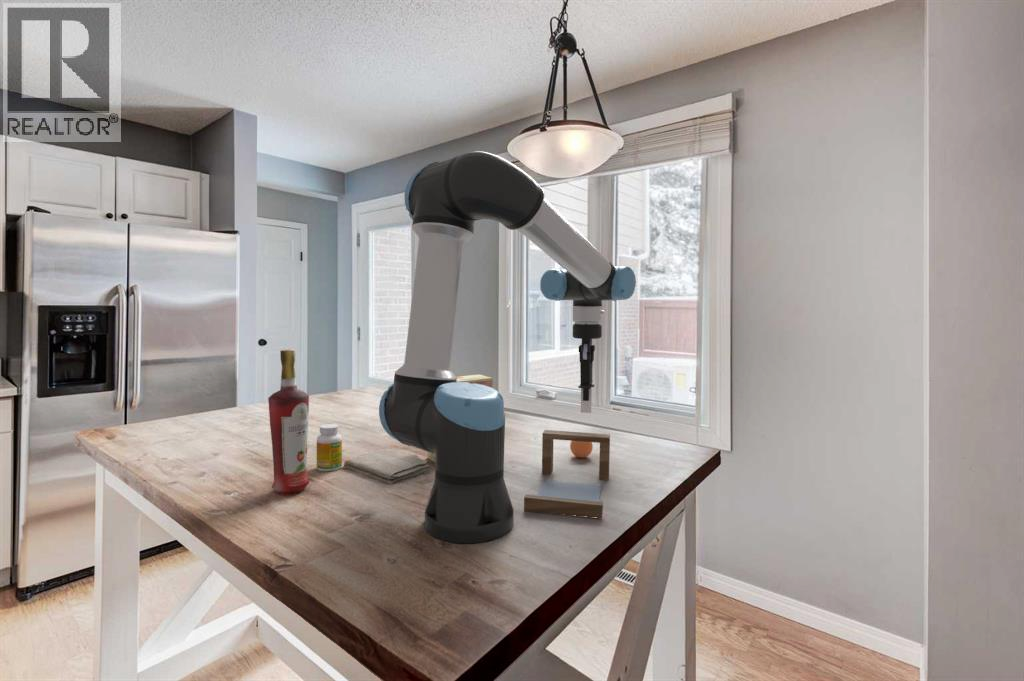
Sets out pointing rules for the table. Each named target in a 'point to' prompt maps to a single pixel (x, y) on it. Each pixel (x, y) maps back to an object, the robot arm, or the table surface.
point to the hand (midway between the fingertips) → (586, 412)
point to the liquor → (289, 430)
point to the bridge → (575, 436)
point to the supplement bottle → (329, 448)
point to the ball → (581, 448)
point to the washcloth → (388, 465)
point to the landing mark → (570, 490)
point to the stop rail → (563, 506)
